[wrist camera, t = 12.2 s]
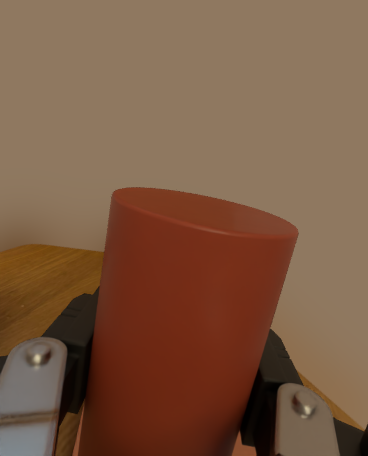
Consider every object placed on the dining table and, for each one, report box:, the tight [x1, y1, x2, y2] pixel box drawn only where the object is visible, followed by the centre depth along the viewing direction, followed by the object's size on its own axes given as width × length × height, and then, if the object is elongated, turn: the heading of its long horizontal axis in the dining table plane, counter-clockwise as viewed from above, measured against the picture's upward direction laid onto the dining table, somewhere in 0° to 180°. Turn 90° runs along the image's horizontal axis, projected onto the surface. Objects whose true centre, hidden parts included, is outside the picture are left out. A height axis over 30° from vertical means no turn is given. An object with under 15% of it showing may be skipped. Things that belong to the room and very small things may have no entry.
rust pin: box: [78, 187, 298, 456], centre depth 8 cm, size 5×5×11 cm
